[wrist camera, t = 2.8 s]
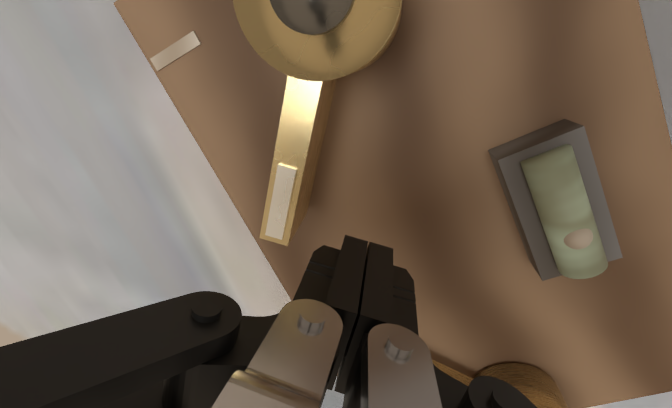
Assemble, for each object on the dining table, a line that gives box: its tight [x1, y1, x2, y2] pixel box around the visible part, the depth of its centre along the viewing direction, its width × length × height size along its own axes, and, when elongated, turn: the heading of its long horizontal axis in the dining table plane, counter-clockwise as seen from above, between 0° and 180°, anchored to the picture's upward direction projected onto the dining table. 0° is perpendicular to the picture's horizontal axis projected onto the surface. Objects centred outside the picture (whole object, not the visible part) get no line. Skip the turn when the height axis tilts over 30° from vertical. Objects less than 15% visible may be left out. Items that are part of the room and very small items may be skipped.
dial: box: [233, 0, 402, 246], centre depth 14 cm, size 12×5×6 cm, turn 166°
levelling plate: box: [114, 0, 672, 408], centre depth 17 cm, size 19×29×5 cm, turn 26°
